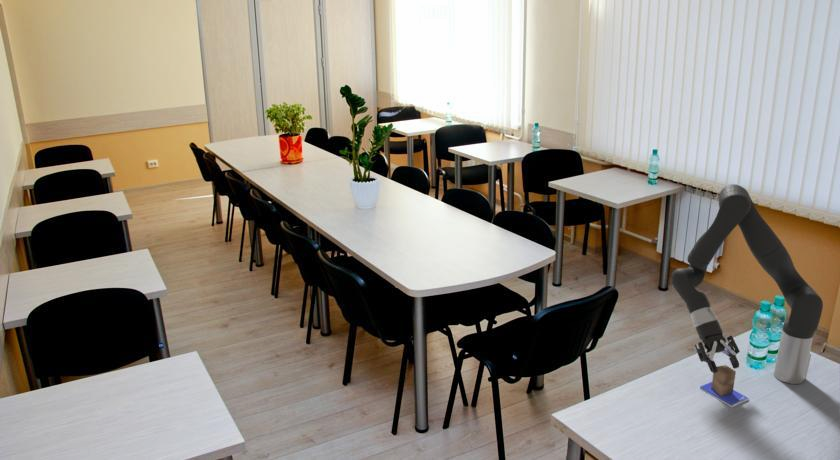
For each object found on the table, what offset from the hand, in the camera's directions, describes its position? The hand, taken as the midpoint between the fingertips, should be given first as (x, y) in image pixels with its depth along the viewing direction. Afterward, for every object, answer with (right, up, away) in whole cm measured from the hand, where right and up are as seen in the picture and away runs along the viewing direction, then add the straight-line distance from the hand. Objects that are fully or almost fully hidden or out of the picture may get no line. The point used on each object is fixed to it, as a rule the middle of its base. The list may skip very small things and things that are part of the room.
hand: (726, 370), depth 224 cm
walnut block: (0, -7, +3) cm, 8 cm away
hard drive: (+1, -9, +3) cm, 10 cm away
